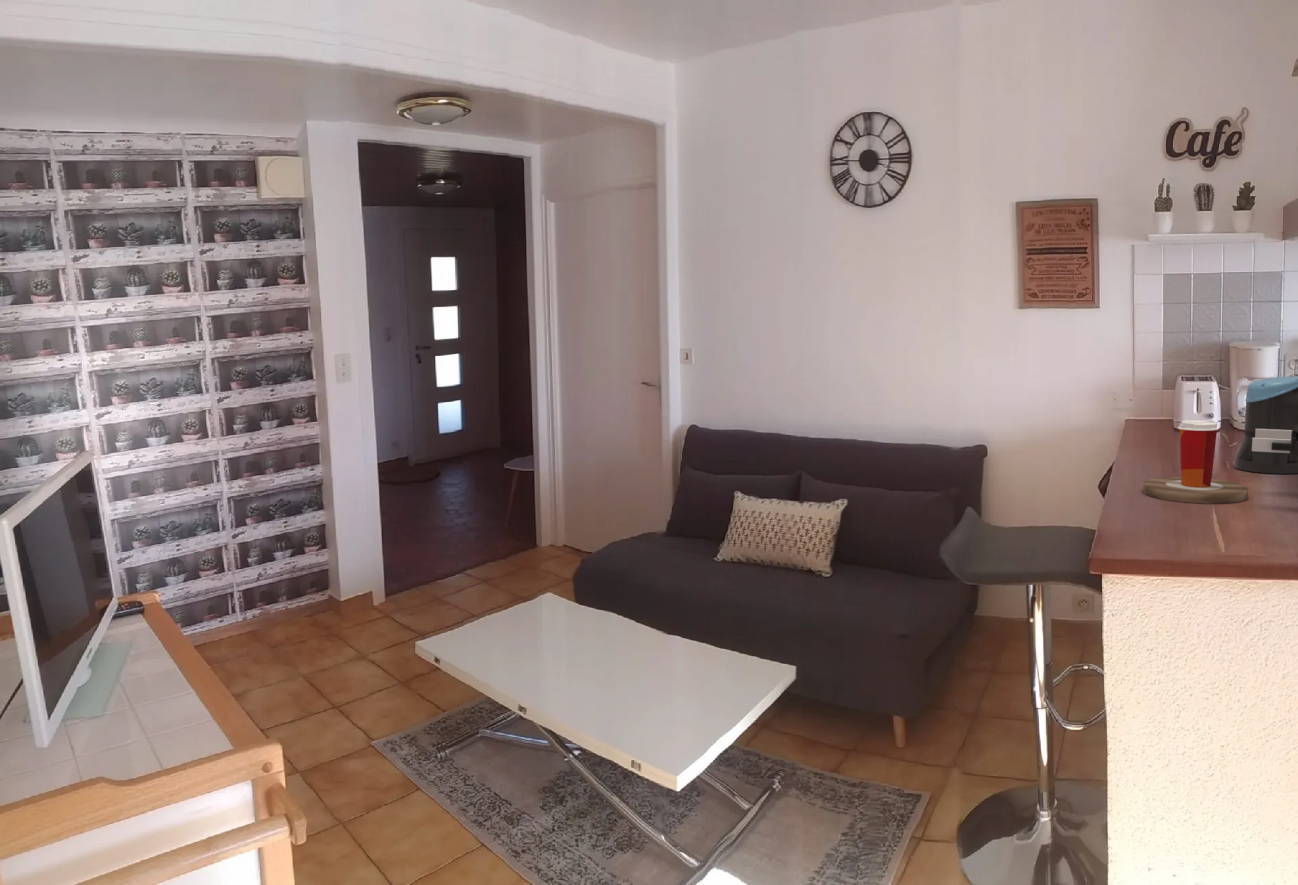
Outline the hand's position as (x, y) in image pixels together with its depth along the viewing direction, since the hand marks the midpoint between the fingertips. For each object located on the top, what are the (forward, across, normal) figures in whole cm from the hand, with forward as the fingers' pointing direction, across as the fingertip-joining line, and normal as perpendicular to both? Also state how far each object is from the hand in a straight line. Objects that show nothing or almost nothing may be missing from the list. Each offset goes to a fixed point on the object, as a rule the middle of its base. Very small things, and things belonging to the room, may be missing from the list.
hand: (1253, 439), depth 195 cm
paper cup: (+10, 0, -11) cm, 15 cm away
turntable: (+10, 0, -13) cm, 16 cm away
